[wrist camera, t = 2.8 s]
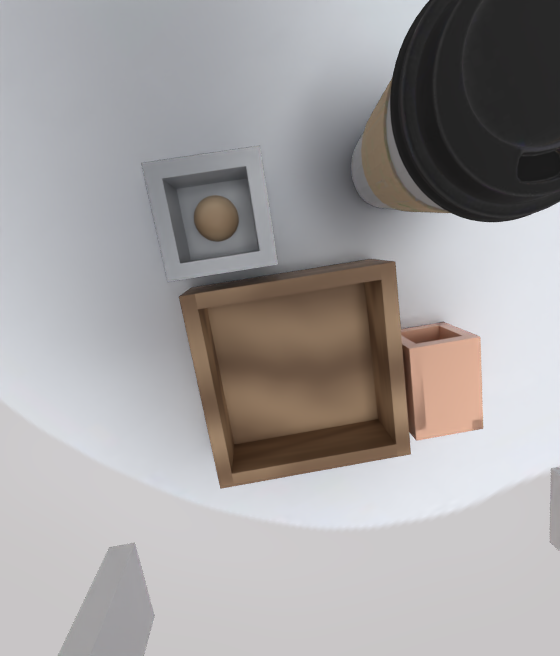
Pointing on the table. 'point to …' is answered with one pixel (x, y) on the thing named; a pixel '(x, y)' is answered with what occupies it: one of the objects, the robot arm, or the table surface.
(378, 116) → the coffee cup
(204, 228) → the cork ball
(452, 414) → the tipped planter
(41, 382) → the table surface
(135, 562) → the robot arm
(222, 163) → the grey tub
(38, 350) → the table surface
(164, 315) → the table surface
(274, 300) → the walnut box
